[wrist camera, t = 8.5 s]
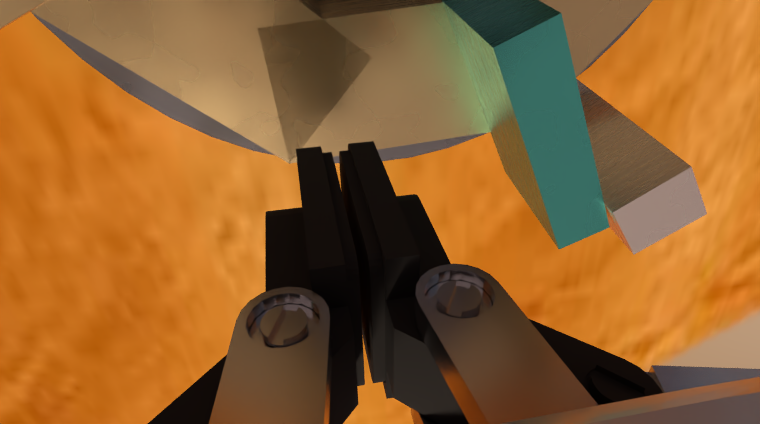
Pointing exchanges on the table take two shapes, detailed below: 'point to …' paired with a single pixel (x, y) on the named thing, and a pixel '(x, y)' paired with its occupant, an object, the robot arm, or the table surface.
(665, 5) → the table surface
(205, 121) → the hub
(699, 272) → the table surface
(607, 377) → the robot arm
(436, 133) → the wooden castle nut
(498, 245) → the table surface
